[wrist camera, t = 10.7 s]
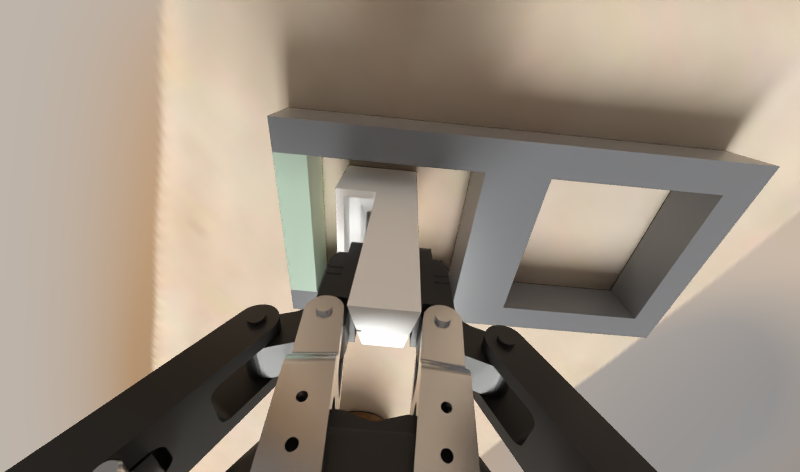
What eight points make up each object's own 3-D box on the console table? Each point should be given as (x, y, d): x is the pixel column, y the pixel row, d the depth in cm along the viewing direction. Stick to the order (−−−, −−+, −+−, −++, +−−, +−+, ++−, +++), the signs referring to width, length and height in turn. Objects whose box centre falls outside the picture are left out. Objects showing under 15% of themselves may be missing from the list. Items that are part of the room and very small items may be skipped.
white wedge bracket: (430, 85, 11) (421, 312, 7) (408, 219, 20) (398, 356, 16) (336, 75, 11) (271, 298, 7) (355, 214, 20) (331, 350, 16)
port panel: (288, 107, 14) (267, 115, 12) (726, 151, 15) (779, 166, 13) (306, 281, 20) (293, 308, 18) (621, 308, 20) (646, 337, 18)
